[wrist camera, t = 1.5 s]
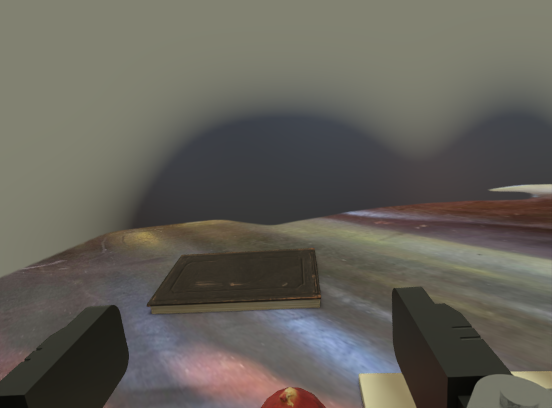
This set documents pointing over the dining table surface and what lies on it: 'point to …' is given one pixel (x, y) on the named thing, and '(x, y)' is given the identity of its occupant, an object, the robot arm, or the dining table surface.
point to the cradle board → (397, 398)
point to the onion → (292, 399)
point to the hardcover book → (240, 282)
